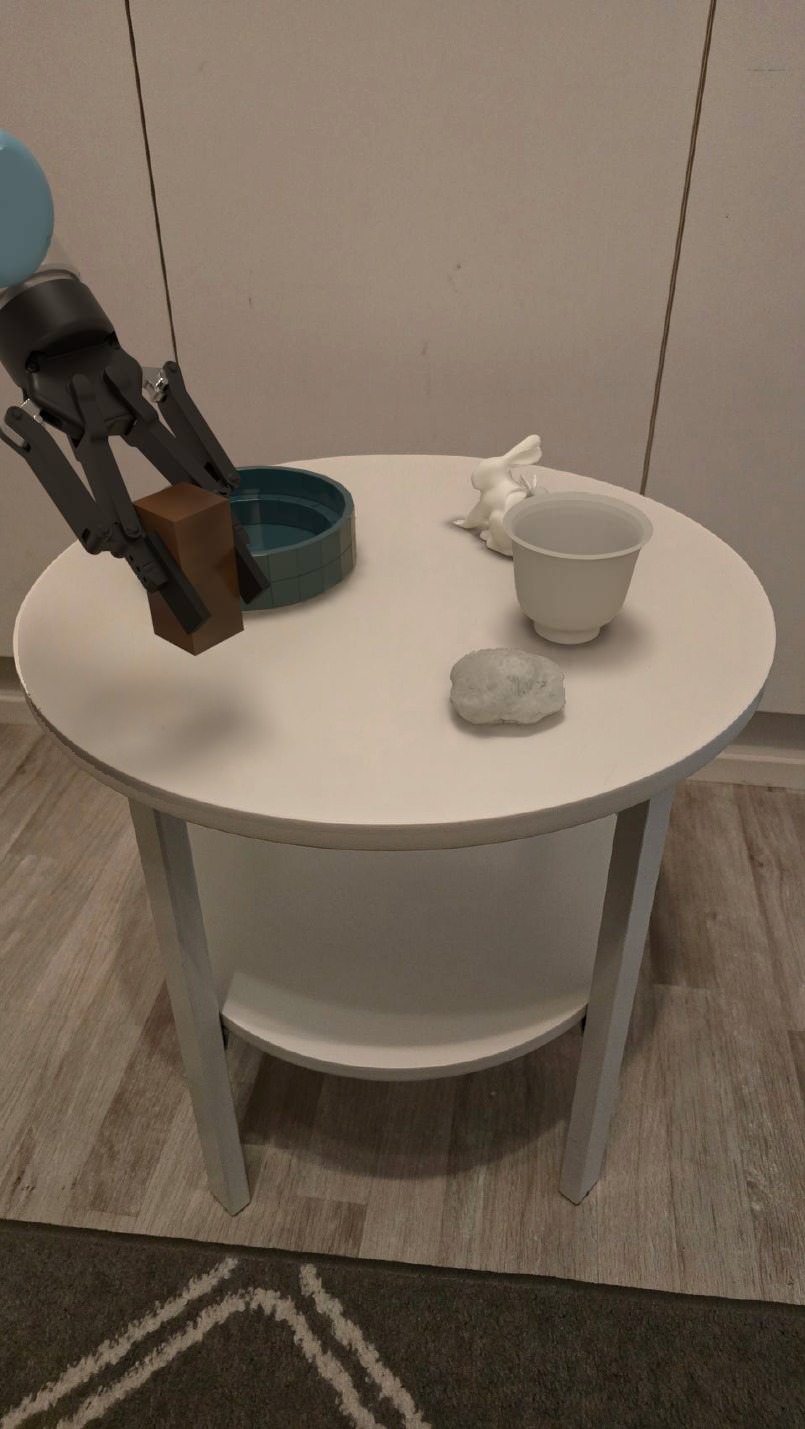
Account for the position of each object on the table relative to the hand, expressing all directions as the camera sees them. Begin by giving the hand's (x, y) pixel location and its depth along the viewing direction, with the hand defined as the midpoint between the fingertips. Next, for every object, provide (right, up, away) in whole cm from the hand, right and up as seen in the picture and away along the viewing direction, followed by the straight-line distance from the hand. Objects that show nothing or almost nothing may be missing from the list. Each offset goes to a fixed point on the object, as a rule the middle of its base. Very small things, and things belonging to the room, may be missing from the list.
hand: (229, 609), depth 66 cm
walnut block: (-3, -1, +4) cm, 5 cm away
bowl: (-3, +7, +29) cm, 30 cm away
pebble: (+19, -7, +10) cm, 23 cm away
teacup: (+25, +1, +21) cm, 33 cm away
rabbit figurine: (+23, +11, +33) cm, 42 cm away
